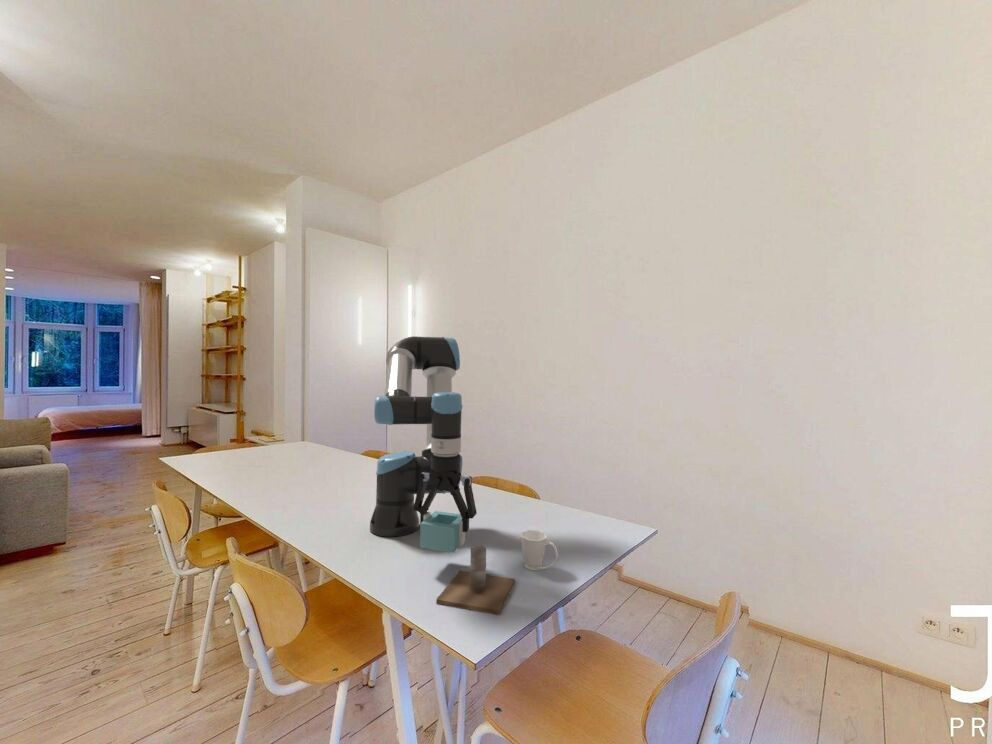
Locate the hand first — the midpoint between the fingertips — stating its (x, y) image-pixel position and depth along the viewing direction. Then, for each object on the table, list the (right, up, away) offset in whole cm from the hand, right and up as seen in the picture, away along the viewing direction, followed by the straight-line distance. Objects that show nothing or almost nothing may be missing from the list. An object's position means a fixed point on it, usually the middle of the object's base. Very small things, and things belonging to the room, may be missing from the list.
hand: (444, 541), depth 108 cm
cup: (+24, -7, 0) cm, 25 cm away
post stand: (+9, -6, -13) cm, 17 cm away
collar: (0, 0, 0) cm, 0 cm away
